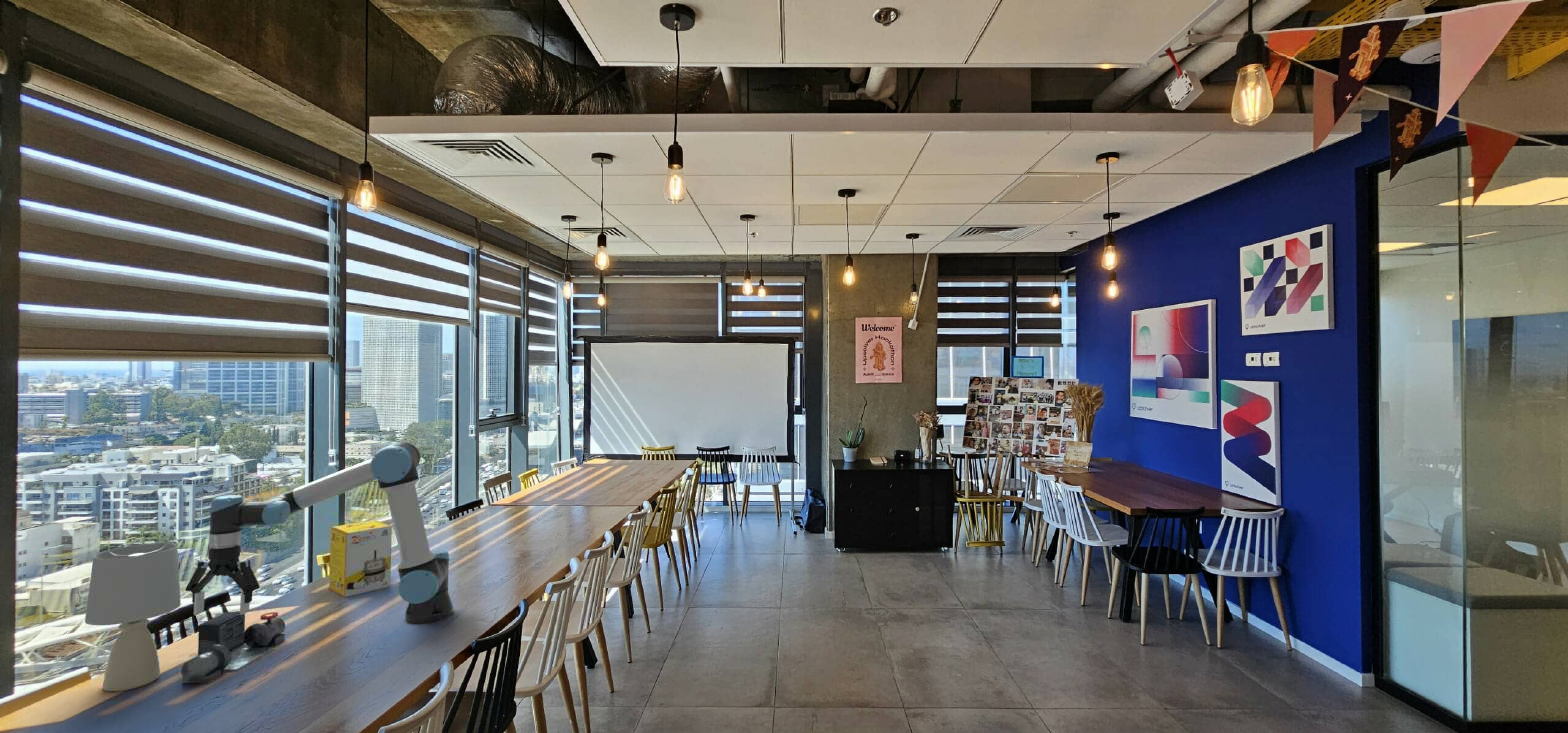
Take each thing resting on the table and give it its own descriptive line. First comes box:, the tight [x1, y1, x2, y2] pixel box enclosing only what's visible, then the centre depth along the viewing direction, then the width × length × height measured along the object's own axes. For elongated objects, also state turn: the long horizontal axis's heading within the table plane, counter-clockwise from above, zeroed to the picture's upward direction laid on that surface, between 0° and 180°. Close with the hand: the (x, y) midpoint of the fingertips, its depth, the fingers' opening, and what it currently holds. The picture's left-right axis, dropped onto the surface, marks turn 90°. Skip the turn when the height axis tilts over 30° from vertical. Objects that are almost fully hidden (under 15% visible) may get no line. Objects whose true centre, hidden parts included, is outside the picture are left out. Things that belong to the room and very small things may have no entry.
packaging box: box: [328, 519, 393, 598], centre depth 254 cm, size 16×16×25 cm
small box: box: [197, 611, 246, 656], centre depth 195 cm, size 11×6×10 cm, turn 5°
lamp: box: [84, 542, 182, 693], centre depth 174 cm, size 19×19×37 cm
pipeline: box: [180, 611, 286, 684], centre depth 188 cm, size 31×11×9 cm, turn 4°
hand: (221, 613), depth 195 cm, fingers open, 13 cm apart
